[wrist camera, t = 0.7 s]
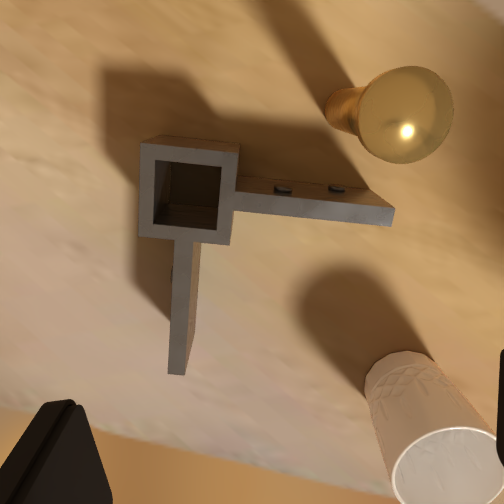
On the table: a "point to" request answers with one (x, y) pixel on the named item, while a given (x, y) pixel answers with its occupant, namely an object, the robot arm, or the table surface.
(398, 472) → the white cup
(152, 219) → the hinge body
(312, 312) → the table surface
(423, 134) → the hinge pin
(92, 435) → the robot arm
